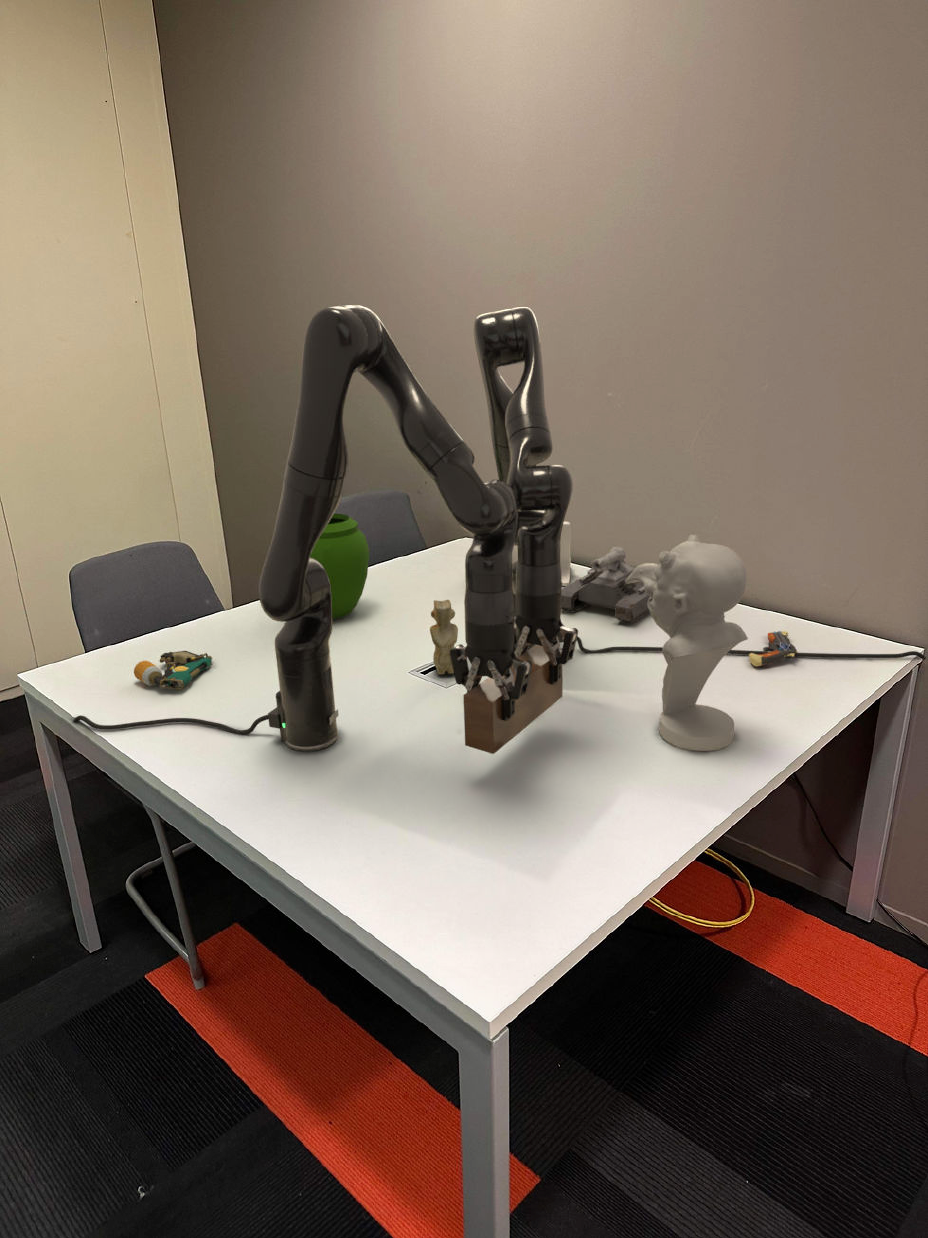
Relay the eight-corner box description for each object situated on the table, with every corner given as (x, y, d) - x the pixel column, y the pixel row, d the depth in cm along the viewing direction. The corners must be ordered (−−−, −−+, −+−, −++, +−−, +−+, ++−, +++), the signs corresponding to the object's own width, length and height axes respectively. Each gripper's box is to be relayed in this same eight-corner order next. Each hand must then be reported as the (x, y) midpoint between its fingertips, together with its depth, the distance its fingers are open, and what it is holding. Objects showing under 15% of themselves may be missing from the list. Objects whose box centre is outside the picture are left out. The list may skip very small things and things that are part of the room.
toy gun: (751, 657, 175) (803, 654, 173) (740, 630, 193) (787, 626, 191) (752, 670, 176) (803, 667, 174) (741, 641, 194) (787, 638, 192)
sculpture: (458, 662, 183) (456, 596, 178) (460, 676, 176) (457, 608, 171) (431, 663, 183) (428, 597, 177) (431, 677, 176) (428, 609, 171)
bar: (535, 690, 153) (535, 644, 150) (562, 696, 150) (563, 650, 147) (464, 745, 135) (463, 694, 132) (493, 754, 132) (492, 702, 129)
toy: (603, 584, 229) (605, 530, 224) (673, 597, 218) (677, 540, 213) (555, 612, 210) (556, 553, 205) (630, 627, 199) (633, 566, 194)
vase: (389, 608, 216) (383, 514, 208) (339, 633, 201) (330, 533, 192) (330, 596, 226) (322, 506, 218) (278, 619, 211) (267, 523, 202)
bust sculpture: (666, 688, 168) (677, 514, 156) (759, 738, 148) (779, 544, 136) (600, 707, 161) (606, 527, 149) (688, 763, 141) (703, 560, 129)
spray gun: (177, 659, 191) (231, 671, 185) (120, 684, 176) (176, 698, 171) (176, 641, 190) (230, 653, 184) (118, 665, 175) (174, 678, 169)
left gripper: (436, 613, 130) (440, 713, 136) (518, 630, 122) (518, 735, 128) (463, 599, 136) (466, 695, 142) (543, 614, 128) (542, 715, 134)
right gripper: (489, 586, 142) (491, 678, 148) (567, 600, 134) (565, 696, 141) (512, 573, 148) (513, 663, 154) (588, 586, 140) (585, 680, 146)
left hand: (491, 714), depth 135 cm, fingers closed on bar, 5 cm apart
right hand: (538, 678), depth 147 cm, fingers open, 5 cm apart
